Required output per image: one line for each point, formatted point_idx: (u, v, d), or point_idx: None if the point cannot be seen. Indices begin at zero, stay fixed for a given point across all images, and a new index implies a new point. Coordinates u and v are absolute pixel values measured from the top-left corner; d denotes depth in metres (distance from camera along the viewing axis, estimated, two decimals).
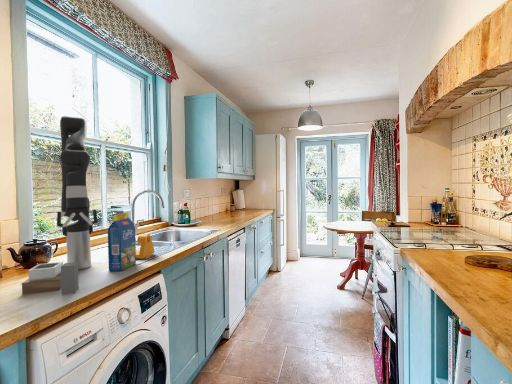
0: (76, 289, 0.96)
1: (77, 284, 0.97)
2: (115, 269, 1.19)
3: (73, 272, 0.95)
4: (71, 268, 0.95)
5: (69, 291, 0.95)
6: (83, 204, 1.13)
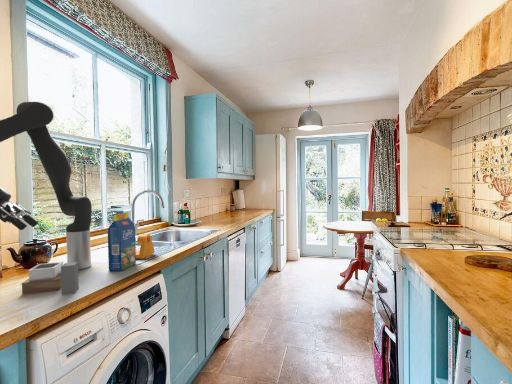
0: (76, 289, 0.96)
1: (77, 284, 0.97)
2: (115, 269, 1.19)
3: (73, 272, 0.95)
4: (71, 268, 0.95)
5: (69, 291, 0.95)
6: None
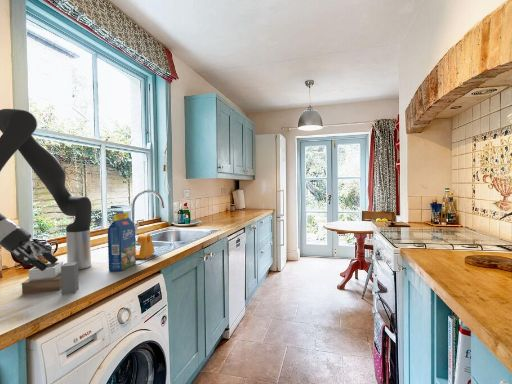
0: (76, 289, 0.96)
1: (77, 284, 0.97)
2: (115, 269, 1.19)
3: (73, 272, 0.95)
4: (71, 268, 0.95)
5: (69, 291, 0.95)
6: (7, 249, 0.89)
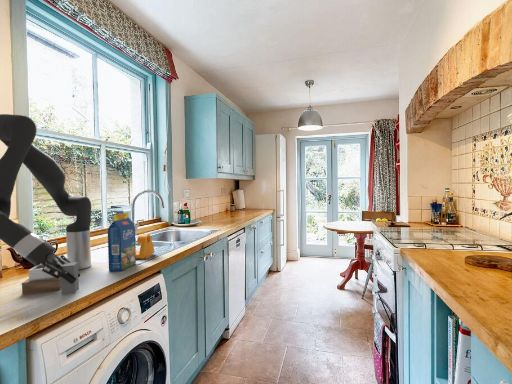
0: (76, 289, 0.96)
1: (77, 284, 0.97)
2: (115, 269, 1.19)
3: (73, 272, 0.95)
4: (71, 268, 0.95)
5: (69, 291, 0.95)
6: (33, 263, 0.91)
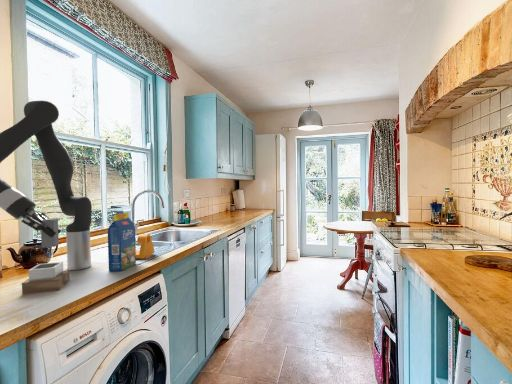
0: (55, 243, 1.00)
1: (56, 239, 1.01)
2: (115, 269, 1.19)
3: (53, 226, 0.99)
4: (51, 223, 0.99)
5: (48, 245, 0.98)
6: (13, 216, 0.95)
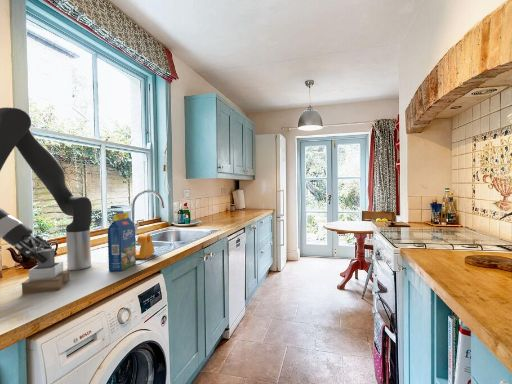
0: None
1: None
2: (115, 269, 1.19)
3: (49, 257, 1.00)
4: (47, 254, 1.00)
5: None
6: (9, 243, 0.96)
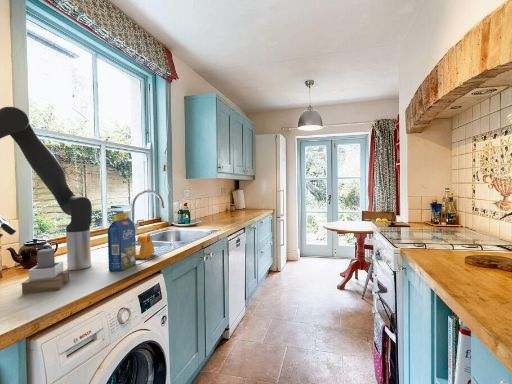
0: None
1: None
2: (115, 269, 1.19)
3: (49, 257, 1.00)
4: (47, 254, 1.00)
5: None
6: None
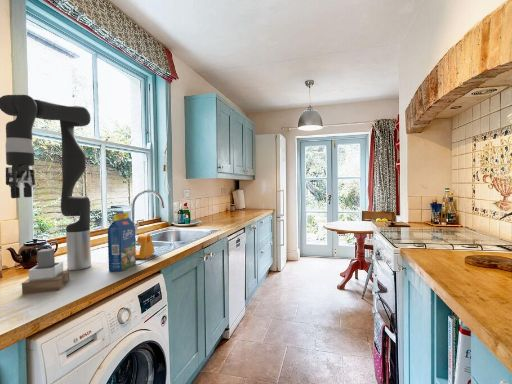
0: None
1: None
2: (115, 269, 1.19)
3: (49, 257, 1.00)
4: (47, 254, 1.00)
5: None
6: (6, 160, 0.92)
